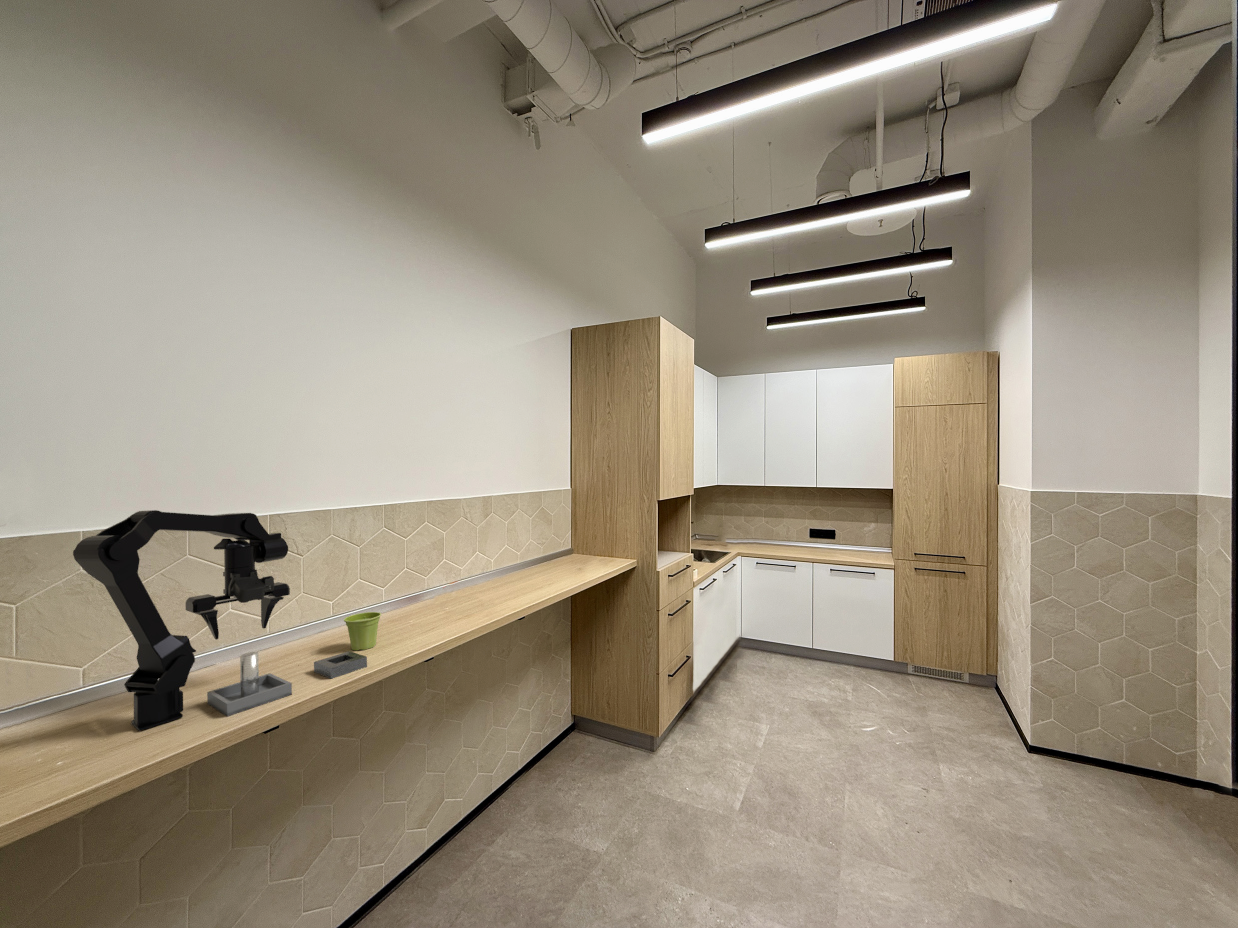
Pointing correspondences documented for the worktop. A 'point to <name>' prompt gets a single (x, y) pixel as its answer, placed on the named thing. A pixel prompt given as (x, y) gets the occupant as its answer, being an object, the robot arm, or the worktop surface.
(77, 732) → the worktop surface
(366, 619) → the plant pot
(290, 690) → the parts tray
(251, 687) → the pin
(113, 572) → the robot arm
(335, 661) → the pin holder
